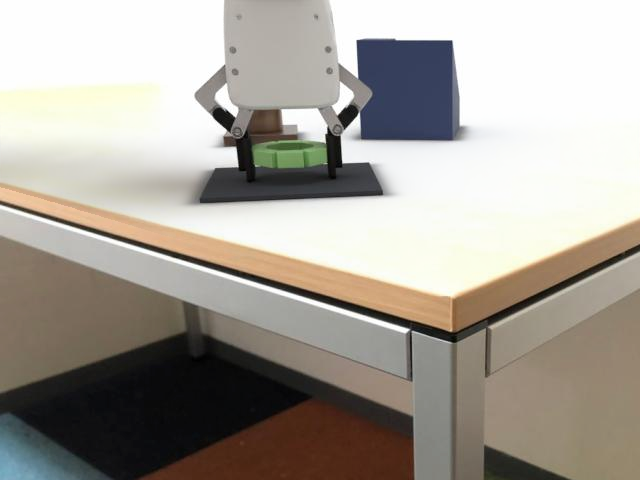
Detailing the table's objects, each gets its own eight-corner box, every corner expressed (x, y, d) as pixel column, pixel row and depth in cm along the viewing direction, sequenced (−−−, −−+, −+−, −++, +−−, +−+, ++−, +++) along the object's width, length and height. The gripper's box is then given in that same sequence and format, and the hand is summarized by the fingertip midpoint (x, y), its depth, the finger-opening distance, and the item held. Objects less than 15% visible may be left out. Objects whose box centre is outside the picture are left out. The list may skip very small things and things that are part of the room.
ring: (250, 169, 68) (249, 153, 67) (254, 155, 74) (253, 141, 74) (330, 166, 69) (329, 151, 69) (327, 153, 76) (326, 139, 75)
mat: (200, 202, 65) (199, 198, 65) (215, 171, 78) (215, 167, 77) (383, 194, 68) (382, 190, 67) (369, 165, 80) (369, 162, 80)
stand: (224, 146, 92) (216, 82, 89) (230, 135, 100) (223, 76, 97) (298, 143, 94) (292, 81, 91) (297, 133, 102) (293, 75, 99)
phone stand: (459, 126, 107) (459, 37, 102) (452, 140, 96) (452, 40, 91) (377, 125, 108) (373, 37, 103) (361, 138, 97) (356, 40, 92)
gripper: (370, -24, 70) (377, 167, 77) (177, -25, 67) (203, 173, 74) (378, -27, 63) (385, 182, 70) (164, -29, 60) (194, 189, 68)
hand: (292, 175), depth 72 cm, fingers closed on ring, 7 cm apart
